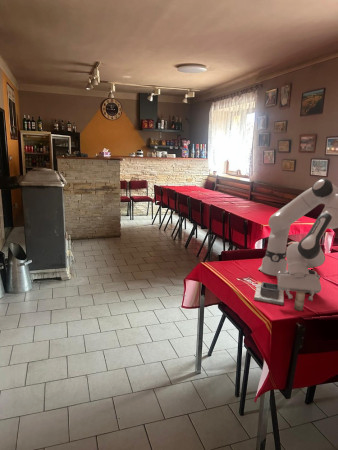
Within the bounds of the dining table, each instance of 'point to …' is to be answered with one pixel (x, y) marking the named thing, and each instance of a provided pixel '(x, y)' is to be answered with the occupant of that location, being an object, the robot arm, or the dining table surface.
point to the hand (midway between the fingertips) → (300, 299)
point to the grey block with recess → (269, 293)
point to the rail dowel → (299, 300)
